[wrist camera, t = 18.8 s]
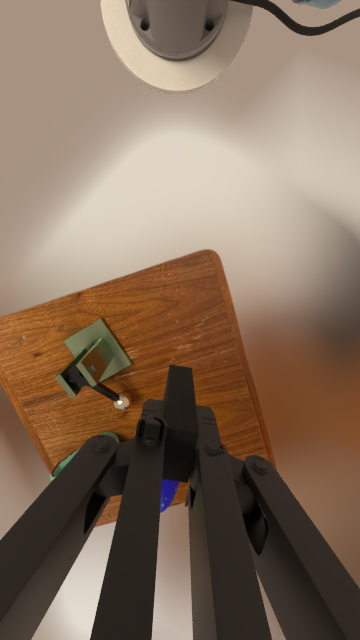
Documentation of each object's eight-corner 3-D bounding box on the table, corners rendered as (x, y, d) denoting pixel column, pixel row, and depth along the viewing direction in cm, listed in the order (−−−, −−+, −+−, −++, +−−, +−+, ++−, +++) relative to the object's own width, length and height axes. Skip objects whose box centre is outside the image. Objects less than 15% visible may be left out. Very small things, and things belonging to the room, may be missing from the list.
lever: (133, 392, 54) (136, 408, 52) (118, 400, 55) (120, 416, 52) (83, 358, 43) (83, 375, 41) (65, 368, 44) (64, 386, 41)
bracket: (132, 362, 55) (119, 395, 42) (96, 382, 56) (73, 420, 44) (102, 317, 52) (78, 338, 40) (65, 339, 53) (30, 366, 41)
